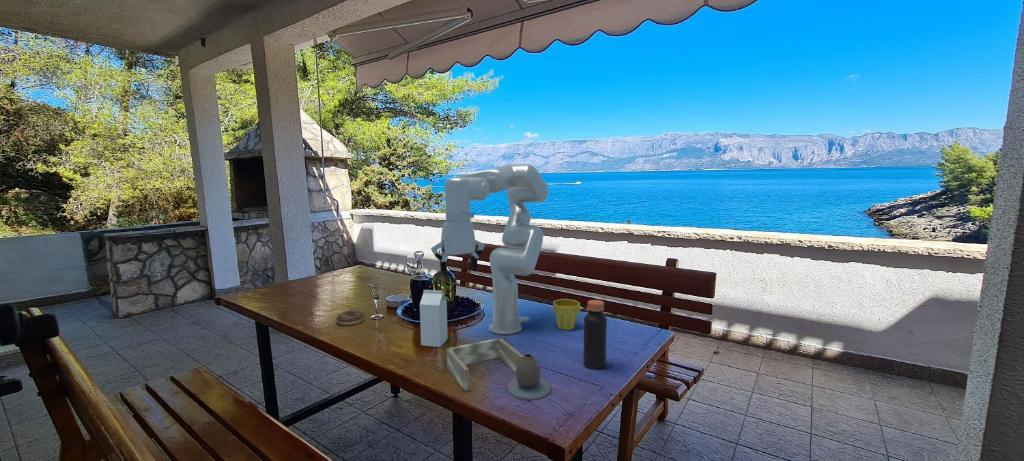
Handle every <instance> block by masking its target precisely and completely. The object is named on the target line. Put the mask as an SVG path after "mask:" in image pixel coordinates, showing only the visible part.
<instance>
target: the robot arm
mask: <svg viewBox="0 0 1024 461" xmlns="http://www.w3.org/2000/svg"><path fill="white" fill-rule="evenodd" d="M505 190H506V198H507V201H508V204H509V210H510V212H509V217H508V218H507V219H508V220H507V222H506V225H505V227H504V231H503V232H502V233H503V234H502V235H501V236H502V237H501V241H502V244H503V245H504V246H505V247H497V248H495V249H493V250H492V252H491V253H490V255H489V265H490V270H491V276H492V280H491V281H492V323H490V324H489V325H488V330H489V332H491V333H492V334H497V335H504V336H505V335H507V336H508V335H514V334H517V333H520V332H521V331H522V328H523V326H522V323H526V322H527V323H528V322H530V317H529V316H523V315H520V316H519V305H518V304H519V303H518V302H519V300H518V299H519V297H518V293H519V289H518V288H519V285H518V281H517V278H516V277H515V275H517V276H530V275H531V274H532V273H533V272H534V270H535V269H536V268H535V267H536V265H537V263H538V259H539V256H540V252H541V251H542V250H541V249H542V248H543V247H542V245H543V243H544V234H543V230H542V229H541V227H539V225H536V224H530V222H531V219H532V217H531V212H530V210H529V209H528V208H527V206H526V204H525V203H535V204H537V203H539V204H541V203H544V202H545V201H547V199H548V196H549V187H548V184H547V182H546V181H545V179H544V178H543V177H542V175H541V174H540V172H539V171H538V169H537V168H536V167H535V166H533V165H532V164H530V163H518V164H517V163H513V164H510V163H509V164H506V165H502V166H498V167H495V168H491V169H486V170H480V171H476V172H471V173H470V172H469V173H466V174H465V173H464V174H461V175H457V176H454V177H450V178H446V180H445V181H444V197H445V198H444V199H445V202H444V203H445V204H444V205H445V222H442V229H441V235H440V236H441V238H440V242H438V243H437V244H435V245H434V246H432V247H431V248H430V250H431V252H432V254H433V256H434V257H435V258H436V259H437V260H438V261H439V271H440V272H441V273H442V274H443V275H446V276H447V274H448V262H447V261H446V260H447V259H448V257H449V256H458V255H467V254H469V255H470V256H471V257H470V258H469V259H470V261H469V262H470V270H471V271H473V272H477V268H478V259H479V257H480V256H481V255H482V253H483V250H484V248H485V246H486V245H485V243H483V242H481V241H479V240H478V239H477V240H476V235H475V228H474V225H473V222H472V219H474V218H475V213H472V212H471V201H473V202H474V201H476V202H477V201H484V200H486V198H488V197H489V195H490V194H498V193H501V192H503V191H505ZM476 245H477V246H478V247H477V249H476ZM439 249H440V251H441V254H439V252H438V251H439Z"/></svg>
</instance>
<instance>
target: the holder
mask: <svg viewBox="0 0 1024 461" xmlns="http://www.w3.org/2000/svg"><path fill="white" fill-rule="evenodd" d="M445 353H446V369H447V370H448V371H449V372H450V373H451V375H452V376H453V377H454V379H455V380H456V382H457V383H458V384H459V385H460V386H461V388H462V389H463V390H464V391H465V392H467V391H470V369H469V368H468V367H467V365H470V364H476V363H480V362H483V361H484V362H485V361H489V360H493V359H498V358H499V359H500V360H501V361H502V362H503V363H505V364H506V366H508V367H509V368H510V369H511V370H512V371H513V372H515V373H516V368H517V365H518V363H519V362H520V361H521V360H522V358H523V356H524V354H522V353H520V352H519V351H518V350H517V349H516V348H514V346H512V345H510V344H509V343H508V342H507V341H506V340H504V338H501V337H498V338H493V339H488V340H483V341H476V342H472V343H467V344H461V345H457V346H453V347H447V348H445Z"/></svg>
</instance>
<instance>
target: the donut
mask: <svg viewBox="0 0 1024 461" xmlns="http://www.w3.org/2000/svg"><path fill="white" fill-rule="evenodd" d="M365 317H366V316H365V313H364V312H363V311H361V310H359V309H349V310H345V311H342V312H340V313H338V314H337V317H336V321H337V323H338V324H339V325H342V326H353V325H358V324H360V323H362V322H363V321H364V319H365Z"/></svg>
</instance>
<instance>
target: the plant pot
mask: <svg viewBox="0 0 1024 461" xmlns="http://www.w3.org/2000/svg"><path fill="white" fill-rule="evenodd" d="M552 305H553V306H552V308H553V309H552V310H553V312H554V315H555V321H556V326H557V328H559V329H560V330H565V331H569V330H573V329H575V326H576V322H577V318H578V314H579V313H580V310H581V303H580V302H579V301H577V300H575V299H570V298H569V299H568V298H561V299H556V300H553V304H552Z"/></svg>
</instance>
